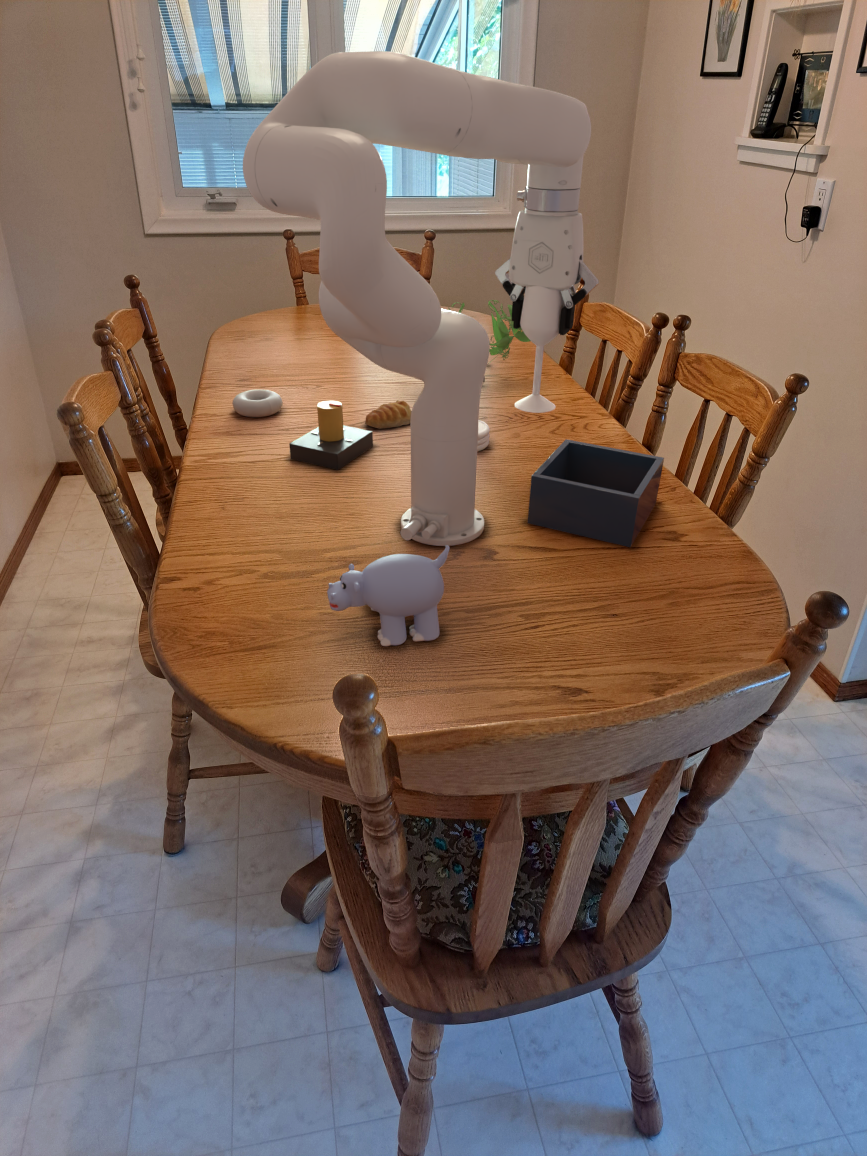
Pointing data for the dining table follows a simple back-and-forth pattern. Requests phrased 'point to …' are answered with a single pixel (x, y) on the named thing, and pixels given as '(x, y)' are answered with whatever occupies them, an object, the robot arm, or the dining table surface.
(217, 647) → the dining table surface
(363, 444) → the panel
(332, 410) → the tap knob
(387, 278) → the robot arm
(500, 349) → the plant cuttings
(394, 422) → the pastry
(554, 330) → the champagne flute
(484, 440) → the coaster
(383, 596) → the hippopotamus toy
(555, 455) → the basin
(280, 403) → the donut
